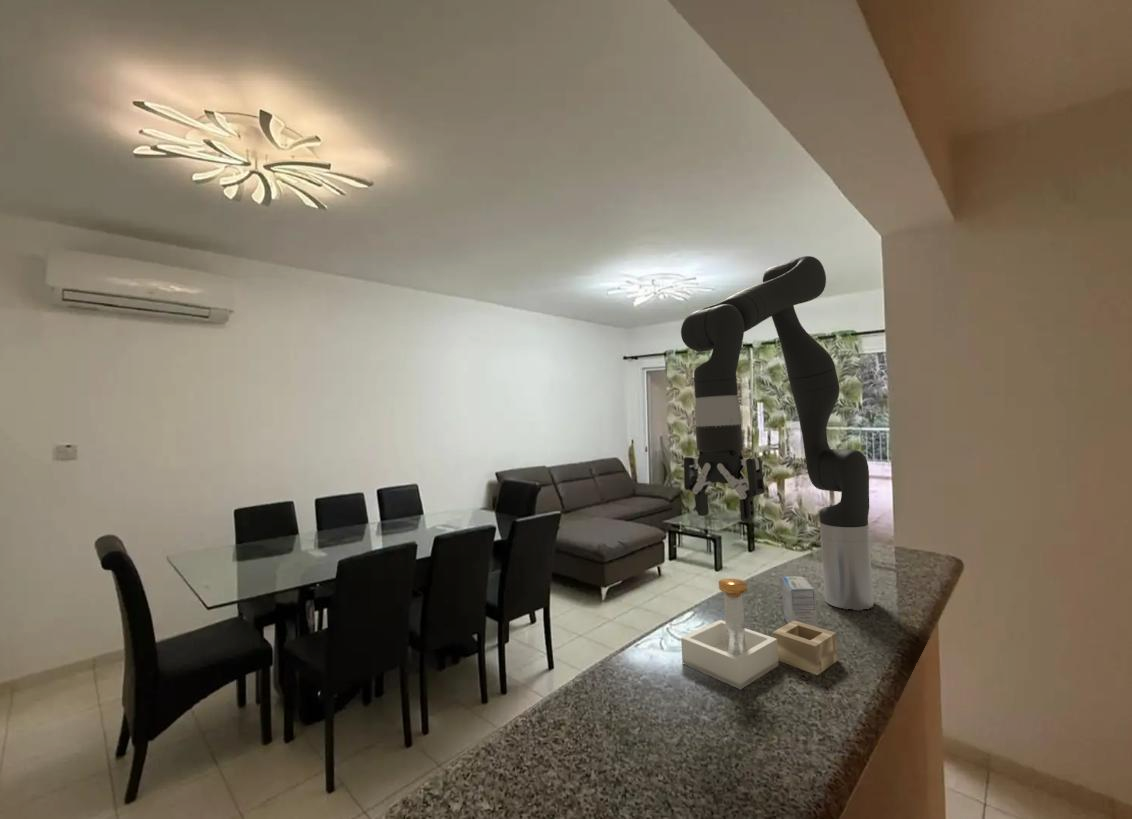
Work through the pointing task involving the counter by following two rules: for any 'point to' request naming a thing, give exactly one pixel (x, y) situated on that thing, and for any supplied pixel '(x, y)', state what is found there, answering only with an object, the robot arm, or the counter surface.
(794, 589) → the medicine box
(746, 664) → the tray
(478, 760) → the counter surface
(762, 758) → the counter surface
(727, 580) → the pin
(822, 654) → the pin block
